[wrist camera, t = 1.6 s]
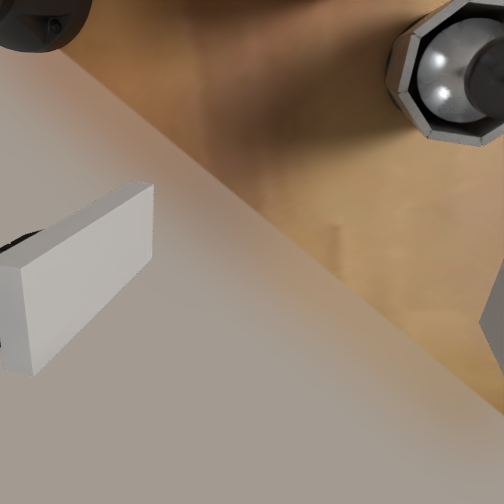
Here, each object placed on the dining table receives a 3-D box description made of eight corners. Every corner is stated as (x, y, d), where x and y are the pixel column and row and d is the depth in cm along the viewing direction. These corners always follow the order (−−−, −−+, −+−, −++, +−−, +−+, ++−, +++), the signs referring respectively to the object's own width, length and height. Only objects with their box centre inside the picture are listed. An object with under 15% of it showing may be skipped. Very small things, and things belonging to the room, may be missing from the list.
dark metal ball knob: (406, 114, 33) (428, 136, 23) (431, 13, 30) (469, -9, 20) (500, 127, 32) (563, 157, 22) (535, 24, 29) (625, 8, 19)
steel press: (375, 113, 44) (384, 135, 31) (402, -6, 40) (425, -36, 27) (473, 127, 43) (524, 156, 30) (512, 6, 38) (591, -20, 26)
